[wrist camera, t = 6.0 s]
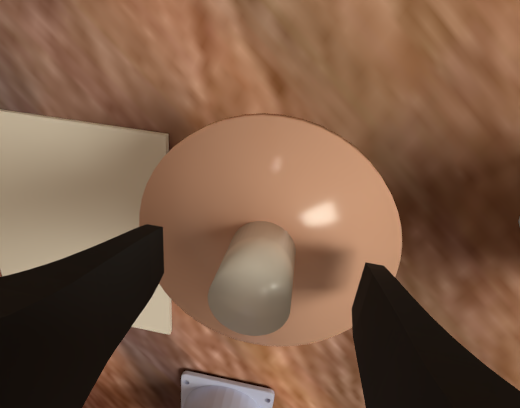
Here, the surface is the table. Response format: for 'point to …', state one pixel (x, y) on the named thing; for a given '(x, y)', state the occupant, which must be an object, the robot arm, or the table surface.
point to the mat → (73, 192)
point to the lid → (270, 227)
